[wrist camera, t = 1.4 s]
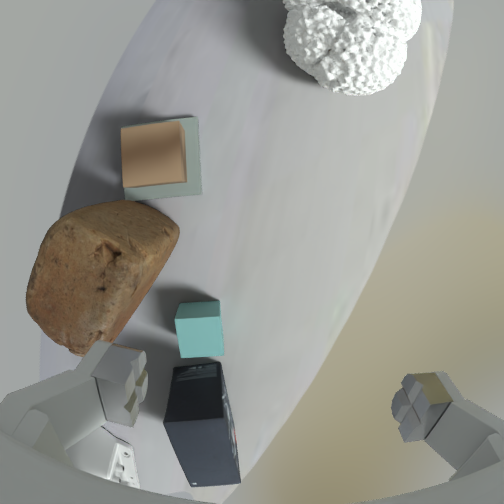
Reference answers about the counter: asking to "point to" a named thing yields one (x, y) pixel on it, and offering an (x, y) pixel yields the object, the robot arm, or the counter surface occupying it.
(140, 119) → the counter surface
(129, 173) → the walnut base block
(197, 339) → the teal cube
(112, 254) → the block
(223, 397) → the small box
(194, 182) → the square tile
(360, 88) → the white coral
